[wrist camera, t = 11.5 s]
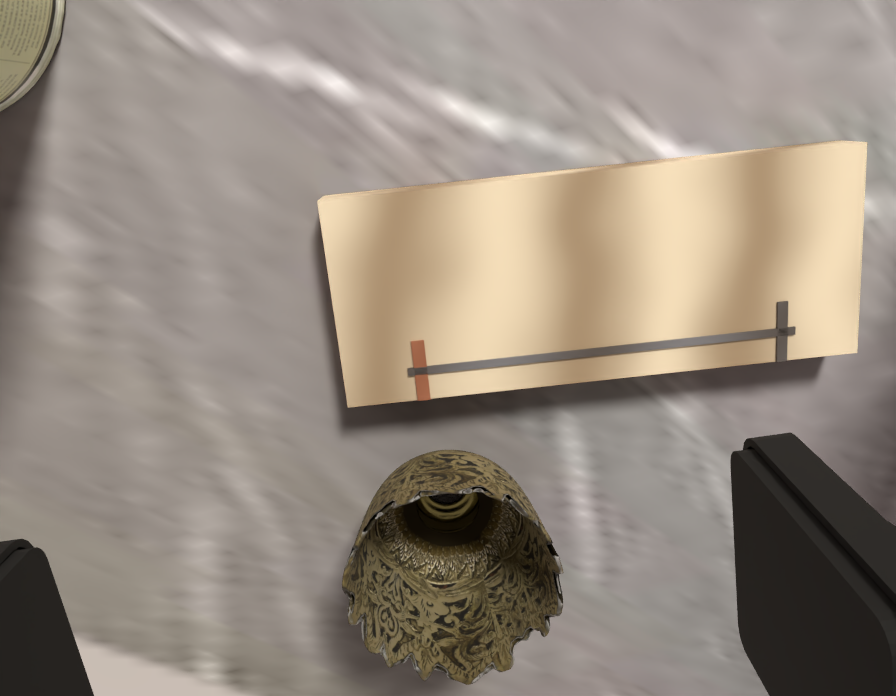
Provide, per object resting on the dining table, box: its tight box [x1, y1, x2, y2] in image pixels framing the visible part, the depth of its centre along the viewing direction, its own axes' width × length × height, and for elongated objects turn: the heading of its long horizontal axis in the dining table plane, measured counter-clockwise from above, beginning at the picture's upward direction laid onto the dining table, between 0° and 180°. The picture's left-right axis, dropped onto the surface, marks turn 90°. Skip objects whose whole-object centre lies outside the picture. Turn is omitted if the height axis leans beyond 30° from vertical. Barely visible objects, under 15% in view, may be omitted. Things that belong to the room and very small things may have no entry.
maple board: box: [317, 141, 867, 408], centre depth 31 cm, size 20×8×2 cm, turn 96°
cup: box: [342, 450, 563, 685], centre depth 30 cm, size 8×7×8 cm
